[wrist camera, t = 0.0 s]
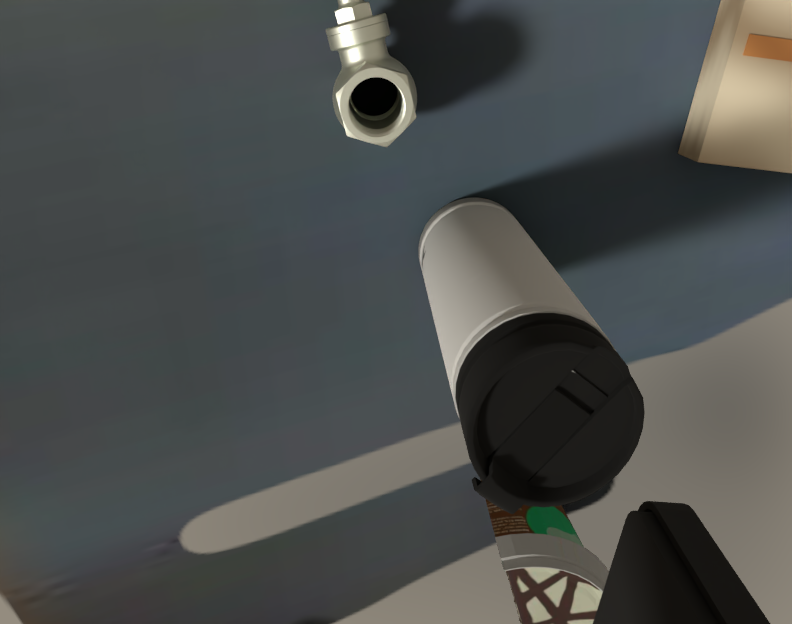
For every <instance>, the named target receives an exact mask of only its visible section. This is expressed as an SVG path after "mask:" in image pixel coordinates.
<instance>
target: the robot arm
mask: <svg viewBox="0 0 792 624" xmlns="http://www.w3.org/2000/svg"><path fill="white" fill-rule="evenodd" d="M593 624H770V623H769V621H768V620H767V618H766V617H765V615H764V614H763V612H762V611H761V609H760V608H759V606H758V605H757V603H756V602H755V600H754V599H753V598H752V596H751V595H750V593H749V592H748V590H747V589H746V587H745V586H744V584H743V583H742V581H741V580H740V578H739V577H738V575H737V574H736V572H735V571H734V570H733V568H732V567H731V565H730V564H729V562H728V561H727V559H726V558H725V556H724V555H723V553H722V552H721V550H720V549H719V547H718V546H717V544H716V543H715V541H714V540H713V538H712V537H711V536H710V534H709V532H708V531H707V530H706V528H705V527H704V525H703V524H702V522H701V521H700V519H699V518H698V516H697V515H696V513H695V512H694V510H693V509H692V508H691V507H690V506H689V505H686V504H682V503H667V502H653V501H647V502H644V503H643V504H642V505H641V506H640V508H639V510H638V511H631V512H630V513H629V514H628V516H627V518H626V521H625V524H624V527H623V530H622V533H621V536H620V539H619V543H618V546H617V549H616V552H615V555H614V558H613V561H612V565H611V568H610V571H609V574H608V577H607V580H606V584H605V587H604V590H603V593H602V596H601V599H600V602H599V606H598V609H597V612H596V615H595V618H594V621H593Z"/></svg>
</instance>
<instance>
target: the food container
mask: <svg viewBox="0 0 792 624" xmlns="http://www.w3.org/2000/svg"><path fill="white" fill-rule="evenodd" d="M480 480H481V479H480ZM481 482H482V480H481ZM486 503H487V507H488V511H489V515H490V518H491V522H492V526H493V530H494V534H495V539H496V542H497V546H498V550H499V554H500V557H501V561H502V565H503V569H504V571H506V573H507V576H508V580H509V582H510V585H511V590H512V593H513V597H514V602H515V604H516V608H517V612H518V615H519V620H520V623H521V624H593V621H594V618H595V615H596V612H597V609H598V606H599V602H600V599H601V596H602V593H603V590H604V587H605V584H606V580H607V577H608V574H609V571H608V570H607V568H606V566H605V565H604V564H603V563H602V562H601V561H600V560H599V558H598V557H597V556H595V555H594V554H593V553H591V552H590V551H589V550H587V549H586V548H584V547H583V545H582V543H581V541H580V539H579V537H578V535H577V534H576V532H575V530H574V528H573V526H572V524H571V522H570V520H569V519H568V517H567V515H566V513H565V511H564V509H563V507H562V505H561V506H552V507H533V506H527V505H523V506H522V507H521V508H519V509H518V510H517V511H516V512H515V513H514V514H510V513H508V512H506V511H504V510H502V509H501V508H499V507H497V506H496V505H494V504H493V503H491V502H489V501H488V500H487V499H486Z"/></svg>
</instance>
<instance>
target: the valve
mask: <svg viewBox="0 0 792 624" xmlns="http://www.w3.org/2000/svg"><path fill="white" fill-rule="evenodd" d="M338 4H339V8H338V9H337V10H336V11H335V14H336V18H337V22H338V26H335V27H331V28H328V29H326V33H327V36H328V41H329V45H330V48H331V50H332V51H335V50H337V51H338V52H339V55H340V59H341V63H342V69H341V71H340V73H339V75H338V77H337V79H336V81H335V85H334V88H333V106H334V110H335V113H336V116H337V118H338V120H339V121H340V123H341V124H342V126H343V127H344V128H345V131H346V134H347V136H349V137H352V138H355V139H358V140H362V141H365V142H369V143H372V144H376V145H380V146H384V147H387V146H388V145H390V144H391V143H392V142H393V141H394V140H395V139H396V138H397V137H398V136H399V135H400V134H401V133H402V132H403V131H404V130H405V129H406V128H407V127H408V126H409V125H410V124H411V123H412V122H413V121H414V120H415V119H416V113H415V110H416V105H417V91H416V86H415V83H414V80H413V78H412V76H411V74H410V73H409V71H408V70H407V69H406V67H405V66H404V65H403V64H402V63H400V62H399V61H398V60H396V59H394V58H393V57H391V56H390V55H389V53H388V50H387V46H386V42H385V37H387V36H389V35H390V29H389V25H388V20H387V16H386V13H383V14H379V15H375V16H373V15H372V13H371V9H370V4H369V2H365V1H364V0H338ZM386 20H387V21H386ZM374 77H380V78H384V79H387V80H389V81H391V82H392V83H393V84H395V85H396V88H397V97H396V100H395V103H394V105H393V106H392V107H391V109H390V110H389V111H387V112H386V113H384V114H382V115H378V116H369V115H366V114H364V113H362V112H361V111H359V110H358V109H357V108H356V106H355V105H354V103H353V101H352V98H351V93H352V91H353V90H354V88H355V87H356V86H357V85H358V84H359V83H360V82H362V81H363V80H365V79H368V78H374Z"/></svg>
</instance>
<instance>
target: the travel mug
mask: <svg viewBox="0 0 792 624" xmlns="http://www.w3.org/2000/svg"><path fill="white" fill-rule="evenodd" d="M419 260H420V265H421V269H422V273H423V277H424V281H425V285H426V289H427V293H428V297H429V302H430V306H431V310H432V314H433V318H434V322H435V326H436V330H437V334H438V338H439V342H440V346H441V351H442V355H443V359H444V363H445V367H446V371H447V375H448V379H449V383H450V387H451V391H452V395H453V400H454V403H455V408H456V412H457V414H458V416H459V418H460V421H461V425H462V430H463V434H464V438H465V441H466V445H467V449H468V453H469V457H470V460H471V462H472V464H473V467H474V469H475V470H476V472H477V474H478V475H479V477H480V479H481V480H482V482H481V481H480V480H478V479H477V478H475V477H474V478H473V479H472V483H473V486H474V490H475V491H477V492H478V493H479V494H480V495H481V496H482V497H484V498H485V499H487V500H488V501H489V502H491V503H493V504H494V505H496V506H497V507H499V508H501V509H502V510H504V511H506V512H508V513H510V514H514V513H515V512H516V511H517V510H518V509H519V508H521V507H522V506H523V505H527V506H533V507H552V506H561V505H565V504H568V503H572V502H576V501H578V500H580V499H583V498H585V497H587V496H589V495H592V494H593V493H595V492H596V491H598V490H599V489H601V488H602V487H604V486H605V485H607V484H608V483H609V482H610V481H611V480H612V479H613V478H614V477H615V476H616V475H617V474H619V472H620V471H621V470H622V469H623V467H624V466H625V465H626V463H627V462H628V461H629V459H630V458H631V456H632V454H633V452H634V450H635V448H636V446H637V445H638V442H639V439H640V435H641V432H642V429H643V421H644V404H643V397H642V395H641V393H640V391H639V389H638V387H637V385H636V383H635V382H634V380H633V378H632V377H631V375H630V372H629V369H628V366H627V365H626V364H625V362H624V361H623V360H622V358H621V357H620V356H619V354H618V353H617V352H616V350H615V349H614V347H613V345H612V344H611V342H610V340H609V339H608V337H607V336H606V335H605V334H604V333H603V332H602V330H601V328H600V327H599V326H598V324H597V323H596V322H595V321H594V319H593V318H592V317H591V315H590V314H589V313H588V311H587V310H586V309H585V308H584V306H583V305H582V304H581V302H580V301H579V300H578V299H577V297H576V296H575V295H574V293H573V292H572V291H571V289H570V288H569V287H568V286H567V284H566V283H565V282H564V280H563V279H562V278H561V276H560V275H559V274H558V273H557V271H556V270H555V269H554V267H553V266H552V265H551V264H550V262H549V261H548V260H547V258H546V257H545V256H544V254H543V253H542V252H541V251H540V249H539V248H538V247H537V245H536V244H535V243H534V242H533V240H532V239H531V238H530V236H529V235H528V234H527V232H526V231H525V230H524V229H523V227H522V226H521V225H520V224H519V222H518V221H517V220H516V218H515V217H514V216H513V215H512V214H511V213H510V212H509V211H508V210H507V209H506V208H505V207H503V206H502V205H500V204H499V203H496V202H494V201H492V200H489V199H484V198H464V199H460V200H456V201H454V202H451V203H449V204H447V205H445V206H444V207H442V208H441V209H439V210H438V211H437V212H436V213H435V214H434V215H433V216H432V217H431V218H430V220H429V221H428V223H427V224H426V225H425V227H424V230H423V232H422V234H421V237H420V242H419Z"/></svg>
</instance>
